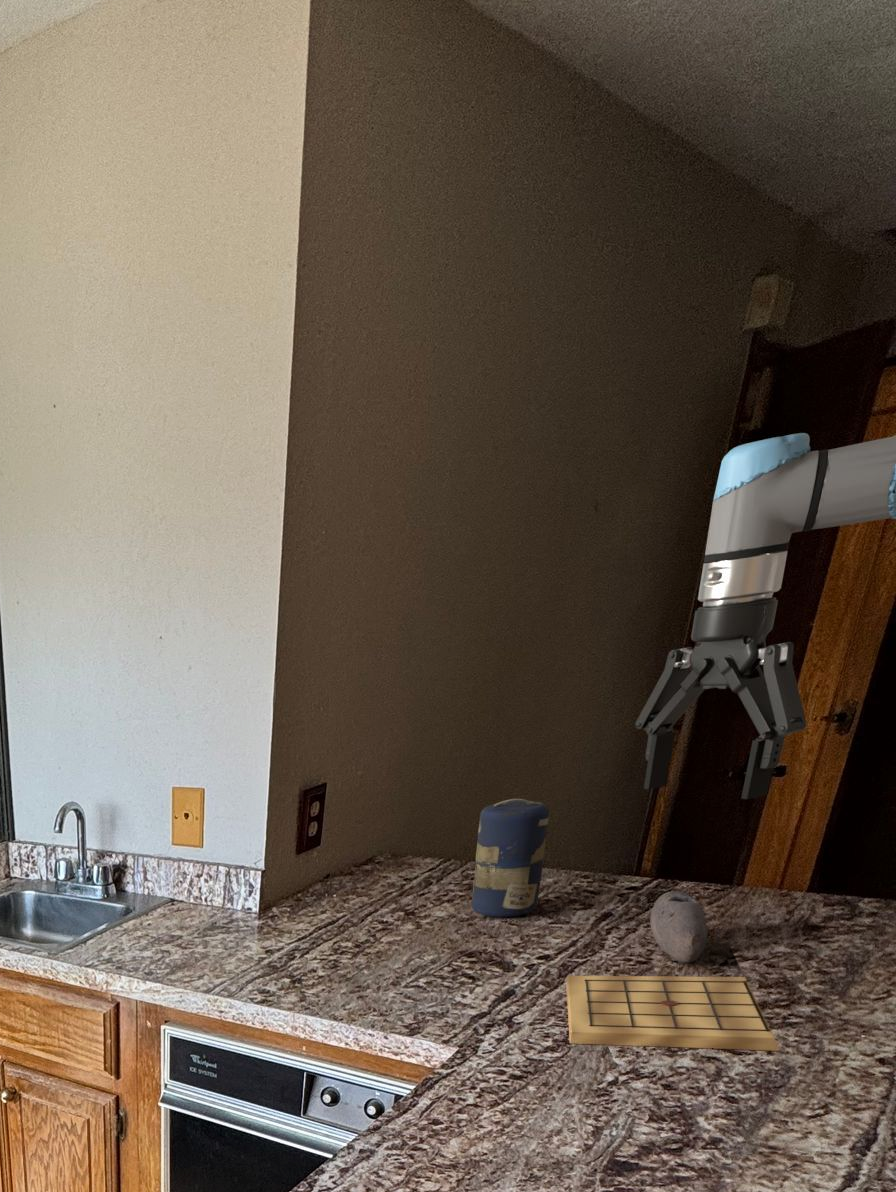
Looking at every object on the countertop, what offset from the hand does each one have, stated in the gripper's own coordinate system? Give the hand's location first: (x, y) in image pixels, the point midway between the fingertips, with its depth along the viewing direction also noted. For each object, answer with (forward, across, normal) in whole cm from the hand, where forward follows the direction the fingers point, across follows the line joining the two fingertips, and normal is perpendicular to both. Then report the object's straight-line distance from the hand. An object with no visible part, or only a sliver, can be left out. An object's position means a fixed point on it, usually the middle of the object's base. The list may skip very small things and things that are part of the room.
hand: (702, 792), depth 123 cm
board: (+22, +14, -15) cm, 30 cm away
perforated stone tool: (+22, -2, +3) cm, 22 cm away
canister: (+22, -32, +1) cm, 39 cm away
